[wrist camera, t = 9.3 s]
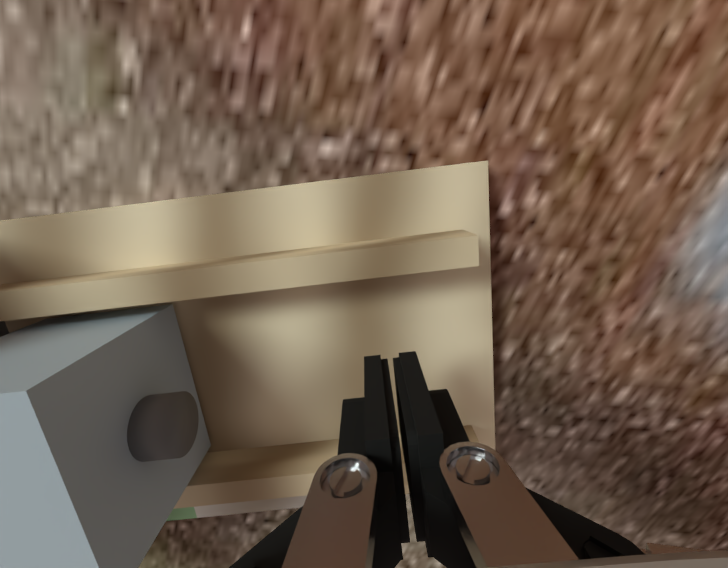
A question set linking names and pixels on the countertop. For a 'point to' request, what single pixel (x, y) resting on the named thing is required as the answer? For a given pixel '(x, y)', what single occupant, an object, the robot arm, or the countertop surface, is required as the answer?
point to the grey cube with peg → (94, 437)
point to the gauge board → (282, 308)
